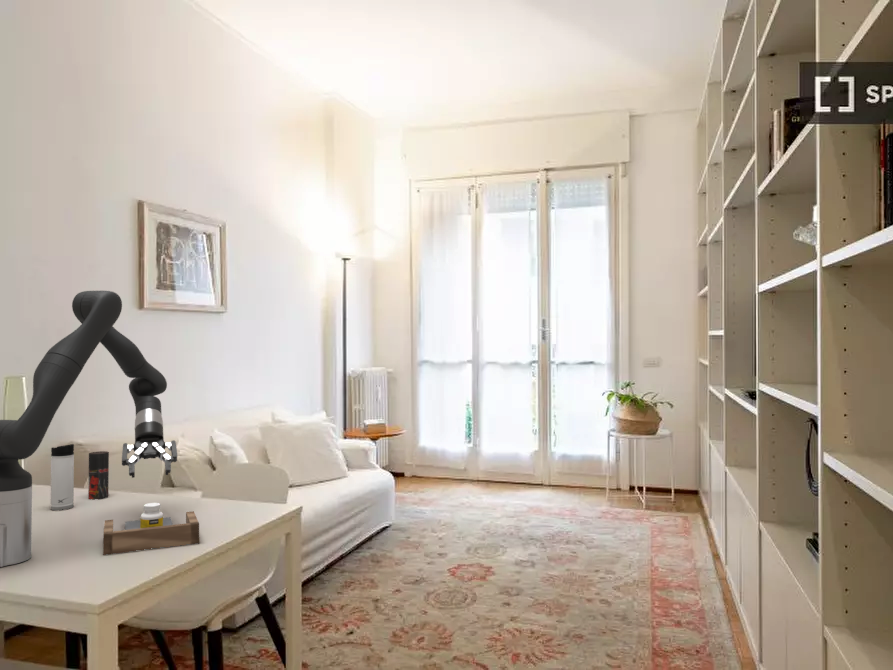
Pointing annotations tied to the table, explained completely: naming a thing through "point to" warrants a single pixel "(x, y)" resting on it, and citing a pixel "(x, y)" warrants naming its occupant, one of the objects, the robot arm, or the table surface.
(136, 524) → the slate pad
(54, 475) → the travel mug
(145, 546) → the walnut bay
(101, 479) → the deodorant
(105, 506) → the table surface
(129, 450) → the robot arm
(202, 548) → the table surface
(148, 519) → the supplement bottle
